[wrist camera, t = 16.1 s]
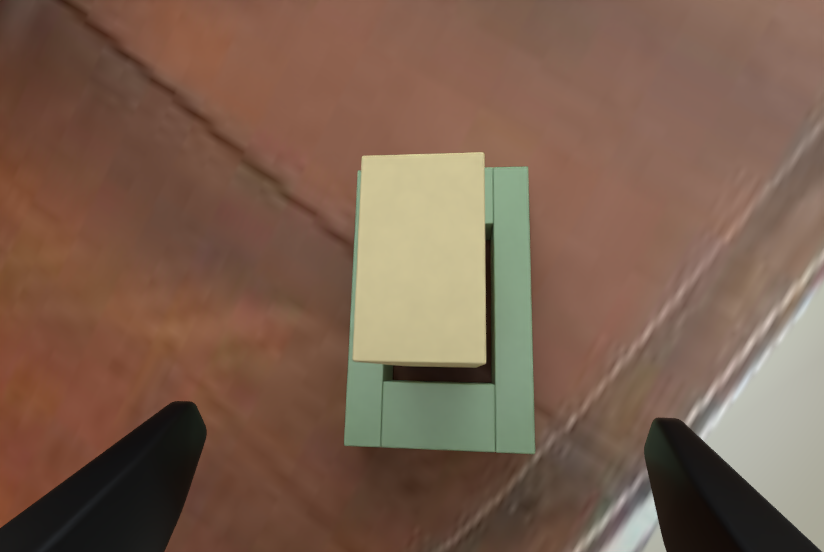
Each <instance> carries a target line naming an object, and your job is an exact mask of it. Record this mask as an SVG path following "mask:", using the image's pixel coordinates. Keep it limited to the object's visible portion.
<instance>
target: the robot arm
mask: <svg viewBox="0 0 824 552" xmlns="http://www.w3.org/2000/svg"><path fill="white" fill-rule="evenodd" d="M206 435H207V430H206V426H205V424H204V421H203V419H202V417H201V415H200V413H199V410H198V408H197V406H196V404H194V403H193V402H188V401H175V402H172V403H170V404H169V405H167V406H166V407H164V408H163V409H162V410H160V411H159V412H158V413H156V414H155V415H154V416H152V417H151V418H149V419H148V420H147V421H145V422H144V423H143V424H141V425H140V426H139V427H137V428H136V429H134V430H133V431H132V432H130V433H129V434H128V435H126V436H125V437H124V438H122V439H121V440H120V441H118V442H117V443H115V444H114V445H113V446H111V447H110V448H109V449H107V450H106V451H105V452H103V453H102V454H100V455H99V456H98V457H96V458H95V459H94V460H92V461H91V462H90V463H88V464H87V465H85V466H84V467H83V468H81V469H80V470H79V471H77V472H76V473H75V474H73V475H72V476H71V477H69V478H68V479H66V480H65V481H64V482H62V483H61V484H60V485H58V486H57V487H56V488H54V489H53V490H51V491H50V492H49V493H47V494H46V495H45V496H43V497H42V498H41V499H39V500H38V501H37V502H35V503H34V504H32V505H31V506H30V507H28V508H27V509H26V510H24V511H23V512H22V513H20V514H19V515H17V516H16V517H15V518H13V519H12V520H11V521H9V522H8V523H7V524H5V525H4V526H2V527H1V528H0V552H164V551H165V549H166V546H167V544H168V542H169V539H170V537H171V535H172V533H173V530H174V528H175V526H176V524H177V521H178V519H179V516H180V514H181V512H182V509H183V506H184V503H185V501H186V498H187V495H188V492H189V489H190V486H191V483H192V480H193V476H194V473H195V470H196V467H197V464H198V461H199V458H200V455H201V452H202V449H203V446H204V443H205V440H206ZM644 455H645V461H646V466H647V470H648V475H649V479H650V484H651V488H652V493H653V497H654V502H655V507H656V511H657V516H658V520H659V525H660V529H661V533H662V537H663V541H664V545H665V548H666V551H667V552H822V551H821V550H820V549H818V548H817V547H816V546H815V545H814V544H813V543H812V542H811V541H810V540H809V539H808V538H807V537H805V536H804V535H803V534H802V533H801V532H800V531H799V530H798V529H797V528H796V527H795V526H794V525H793V524H792V523H791V522H790V521H788V520H787V519H786V518H785V517H784V516H783V515H782V514H781V513H780V512H779V511H778V510H777V509H776V508H774V507H773V506H772V505H771V504H770V503H769V502H768V501H767V500H766V499H765V498H764V497H763V496H762V495H760V493H758V492H757V491H756V490H755V489H754V488H753V487H752V486H751V485H750V484H749V483H748V482H747V481H746V480H745V479H743V478H742V477H741V476H740V475H739V474H738V473H737V472H736V471H735V470H734V469H733V468H732V467H731V466H730V465H729V464H727V463H726V462H725V461H724V460H723V459H722V458H721V457H720V456H719V455H718V454H717V453H716V452H715V451H714V450H712V449H711V448H710V447H709V446H708V445H707V444H706V443H705V442H704V441H703V440H702V439H701V438H700V437H699V436H697V435H696V434H695V433H694V432H693V431H692V430H691V429H690V428H689V427H688V426H687V425H686V424H685V423H683V422H682V421H681V420H679V419H676V418H656V419H654V420H653V422H652V424H651V428H650V431H649V434H648V437H647V440H646V443H645V447H644Z"/></svg>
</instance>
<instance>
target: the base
mask: <svg viewBox="0 0 824 552" xmlns="http://www.w3.org/2000/svg"><path fill="white" fill-rule="evenodd" d="M360 185H361V171H358V178H357V198H356V218H355V237H354V257H353V277H352V296H351V316H350V336H349V355H348V375H347V394H346V414H345V434H344V445H345V446H361V447H385V448H407V449H429V450H452V451H474V452H495V451H496V452H497V453H517V454H535V425H534V385H533V345H532V304H531V264H530V224H529V184H528V167H494V168H485V240H490V252H491V380H492V383H482V382H446V381H411V380H393V365H386V364H375V363H364V362H354V361H353V360H352V356H353V335H354V314H355V292H356V271H357V250H358V228H359V207H360Z"/></svg>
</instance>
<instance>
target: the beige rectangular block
mask: <svg viewBox="0 0 824 552" xmlns="http://www.w3.org/2000/svg"><path fill="white" fill-rule="evenodd" d="M352 360H353V361H354V362H364V363H375V364H386V365H397V366H410V367H455V368H476V367H479V366H481V365H484V364H486V270H485V155H484V153H483V152H481V153H448V154H415V155H381V156H362V164H361V185H360V207H359V228H358V250H357V271H356V292H355V314H354V335H353V356H352Z"/></svg>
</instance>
